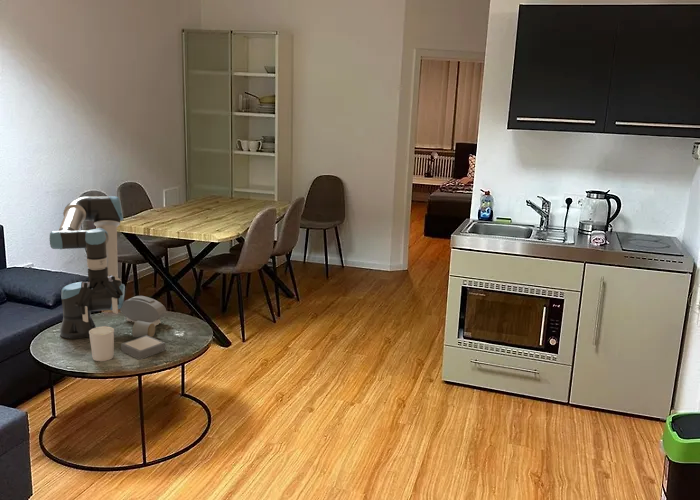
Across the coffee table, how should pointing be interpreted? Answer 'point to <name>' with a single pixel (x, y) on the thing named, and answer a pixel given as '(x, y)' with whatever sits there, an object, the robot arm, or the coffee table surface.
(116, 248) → the robot arm
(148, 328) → the ceramic mug
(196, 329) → the coffee table surface
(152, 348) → the pedestal
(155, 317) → the alarm clock
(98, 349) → the candle holder
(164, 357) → the coffee table surface
